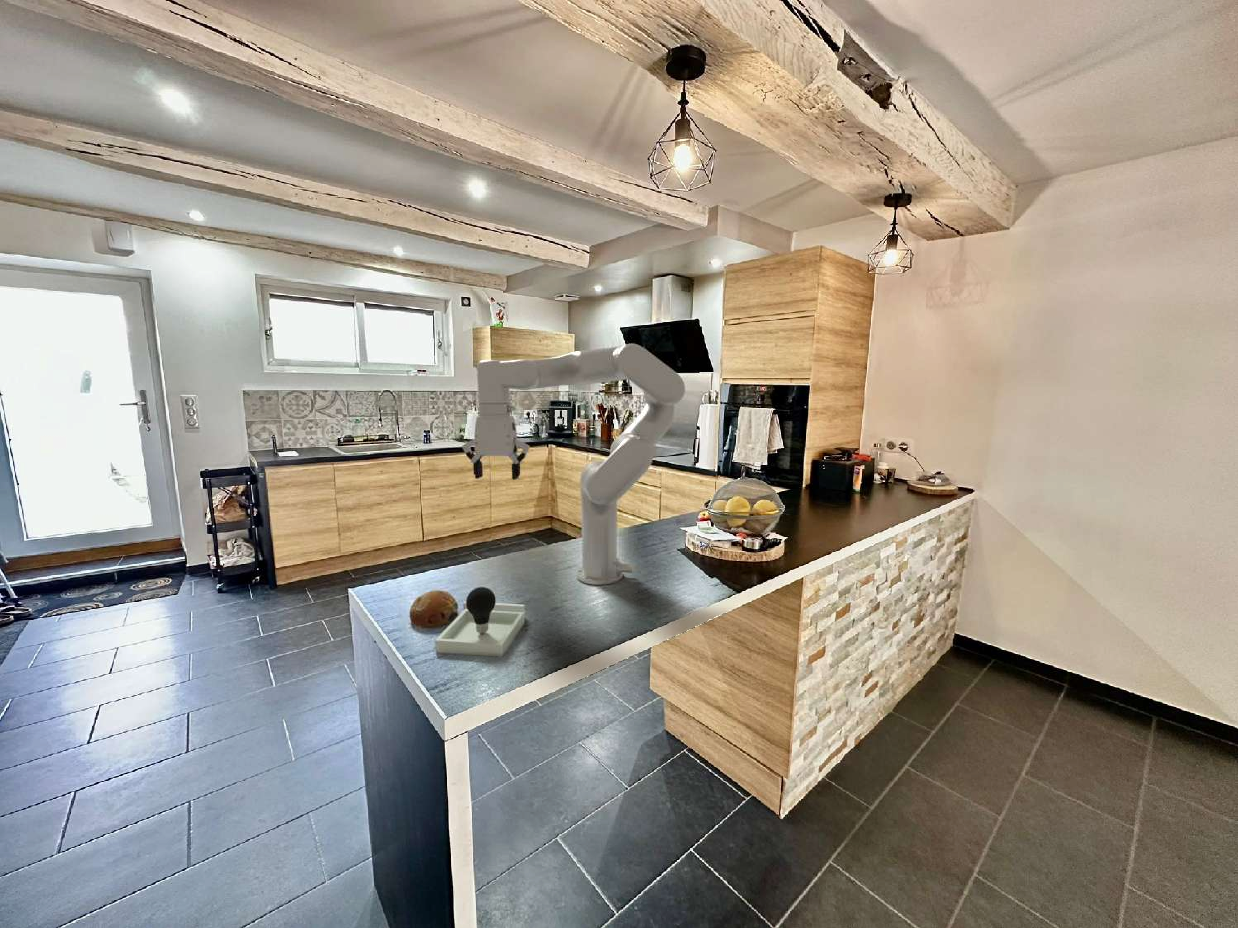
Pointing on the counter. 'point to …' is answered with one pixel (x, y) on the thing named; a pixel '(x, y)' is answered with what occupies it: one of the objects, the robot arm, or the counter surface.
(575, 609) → the counter surface
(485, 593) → the light bulb
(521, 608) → the white flat bar
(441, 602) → the bread roll
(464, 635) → the dish
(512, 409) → the robot arm
